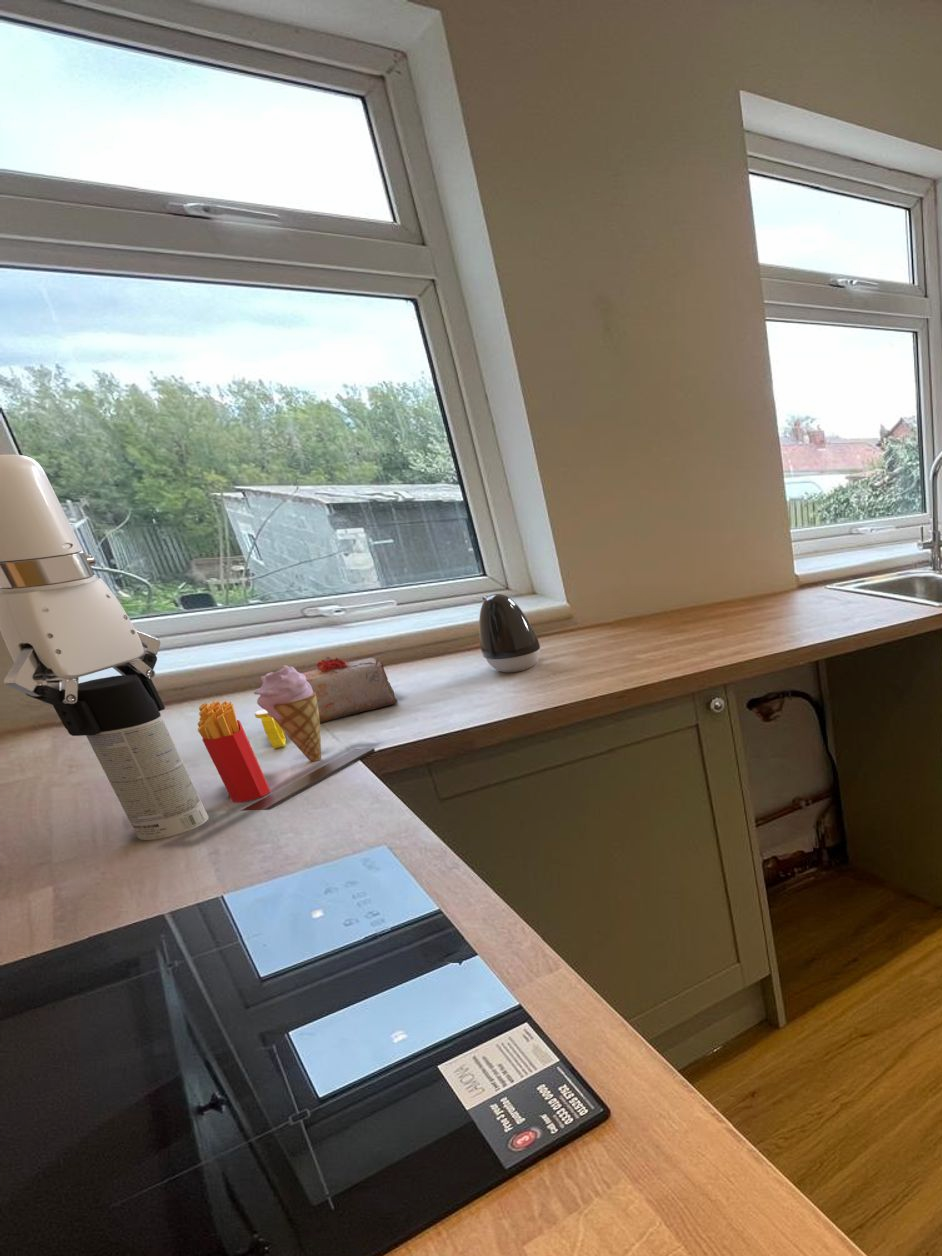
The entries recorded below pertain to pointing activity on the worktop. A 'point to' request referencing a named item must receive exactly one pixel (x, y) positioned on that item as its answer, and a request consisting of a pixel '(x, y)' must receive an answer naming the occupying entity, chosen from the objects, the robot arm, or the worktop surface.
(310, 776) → the strip
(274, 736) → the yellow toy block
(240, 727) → the french fries
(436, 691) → the worktop surface
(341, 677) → the food item
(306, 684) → the ice cream cone
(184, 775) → the spray can
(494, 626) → the egg-shaped speaker
